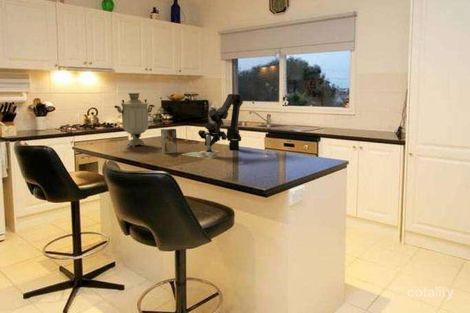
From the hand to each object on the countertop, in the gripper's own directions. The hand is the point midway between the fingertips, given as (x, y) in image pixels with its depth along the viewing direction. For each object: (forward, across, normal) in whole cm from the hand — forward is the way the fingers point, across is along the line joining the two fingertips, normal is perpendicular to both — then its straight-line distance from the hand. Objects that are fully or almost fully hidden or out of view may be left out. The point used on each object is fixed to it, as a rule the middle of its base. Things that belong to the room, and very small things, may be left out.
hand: (207, 145), depth 250 cm
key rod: (+4, 0, +6) cm, 7 cm away
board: (+4, -6, +7) cm, 10 cm away
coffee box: (0, -36, +11) cm, 38 cm away
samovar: (-12, -80, +23) cm, 85 cm away
